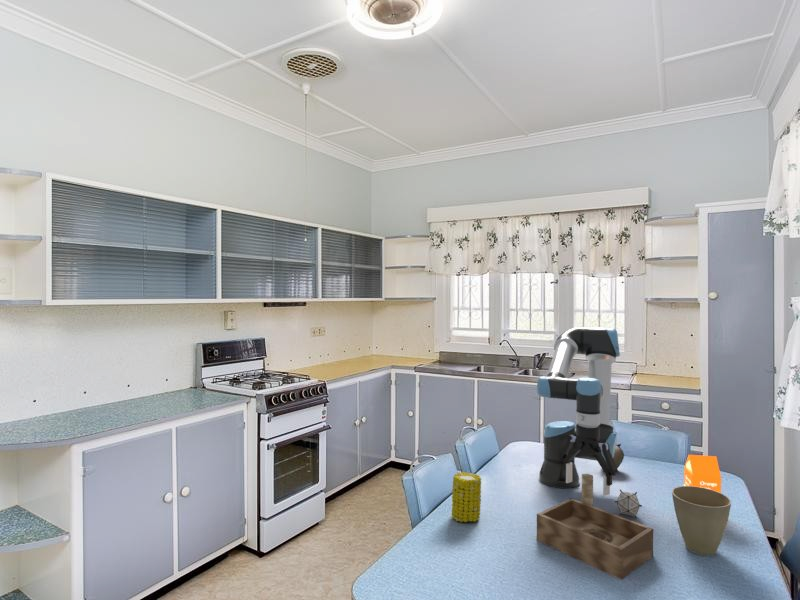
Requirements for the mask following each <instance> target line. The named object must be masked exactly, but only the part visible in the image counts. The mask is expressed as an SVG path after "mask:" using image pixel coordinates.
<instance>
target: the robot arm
mask: <svg viewBox="0 0 800 600" xmlns="http://www.w3.org/2000/svg"><path fill="white" fill-rule="evenodd" d="M619 344H620V343H619V336H618V330H617V329H615V328H613V327H612V328H611V327H605V326H604V327H591V326H590V327H589V326H576V327H571V328H569V329H567V330H566V331H564V332H562V333H560V334H559V336H558V337H557V338H556V340H555V342H554V345H553V350H554V353H553V356H552V359H551V362H550V364H549V366H548V370H547V374H546V376H544V375H543V376H538V378H537V383H536V390H537V391H536V392H537V394H538V396H539V397H542V398H547V399H558V400H569V401H576V409H575V415H576V417H575V418H576V419H575V422H576V423H574V422H573V421H568V420H560V421H559V420H557V421H553V422H552V421H551V422H549V423H547V424H546V425H545V426H544V433H543V462H542V465H541V468H540V470H539V474H538V475H539V476H538V477H539V478H538V479H539V481H540V483H543V484H545V485H546V486H549V487H554V488H561V489H570V488H575V487H577V486H579V485H580V475H579V474H578V470H577V466H576V464H575V459H583V460H590V461H597V462H598V463H597V464H599V466H600V467H601V469H603V471H604V472H603V471H602V472H603V473H604V474H603V476H602V477H603V479H602V480H603V482H602V483H603V484H602V485H603V486H602V490H603V491H602V496H605V497H607V496H608V495H610V494H611V486H612V485H613V476H616V475H618V474H619V473H620V471H619V470H618V468H617V467H616V465H615V462H614V460H613V457H614V453H615V448H616V445H617V442H618V441H617V440H618V432H616V431H615V430H614V426H613V425H612V423H611V422H610V416H611V414H610V413H611V410H610V409H611V392H612V391H611V387H612V364H613V363H615V362H616V361H617V357H618V358H619V357H620V355H621V354H620V347H619V346H620V345H619ZM577 355H585V359H586V360H587V362H588V375H587V377H579V378H570V377H569V376H570V371H571V368H572V364H573V361H574V357H576V356H577ZM618 471H619V472H618Z"/></svg>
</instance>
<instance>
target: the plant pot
mask: <svg viewBox="0 0 800 600" xmlns="http://www.w3.org/2000/svg"><path fill="white" fill-rule="evenodd" d="M671 494H672V495H671V496H672V503H673V507H674V512H675V516H676V520H677V524H678V526H679V530H680V534H681V536H682V538H683V542H684V543H685V547H686V548H687V550H689V551H690V552H692V553H695V554H696V555H700V556H708V557H709V556H710V557H711V556H714V555H715V554H716V553H717V551H718V549H719V547H720V545H721V542H722V539H723V537H724V534H725V531H726V528H727V524H728V522H729V517H730V511H731V506H732V500H731V499H730V498H729V497H728V496H727V495H726V494H724V493H722V492H721V493H720V492H717V491H714V490H711V489H707V488H702V487H696V486H684V485H681V486H680V485H679V486H676V487H673V488H672V489H671Z"/></svg>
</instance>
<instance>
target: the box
mask: <svg viewBox="0 0 800 600" xmlns="http://www.w3.org/2000/svg"><path fill="white" fill-rule="evenodd" d="M536 541H538V542H539V543H542V544H545V545H546V546H548V547H551V548H553V549H555V550H557V551H559V552H561V553H563V554H565V555H567V556H569V557H572V558H574V559H576V560H578V561H580V562H582V563H584V564H587V565H588V566H590V567H593V568H595V569H596V570H599V571H601V572H604V573H605V574H606V575H607V574H608V575H610V576H612V577H614V578H616V579H618V580H620V581H622V580H623V579H624V578H626V577H627V576H629V575H630V574H631V573H632V572H634V571H635V570H637V569H638V568H640V567H641V566H642V565H644V564H645V563H646V562H648V561H649V560H650V559H652V558H653V557H654V528H652V527H650V526H647V525H644V524H642V523H639V522H636V521H633V520H630V519H628V518H625V517H623V516H621V515H620V516H619V515H617V514H614V513H612V512H610V511H606V510H604V509H601V508H599V507H596V506H594V505H593V506H591V505H588V504H585V503H583V502H581V501H579V500H576V499H574V498H572V497H570V498H568V499H566V500H564V501H562V502H560V503H557V504H556V505H554V506H552V507H550V508H547V509H544V510H543V511H540V512H538V513H536Z"/></svg>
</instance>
